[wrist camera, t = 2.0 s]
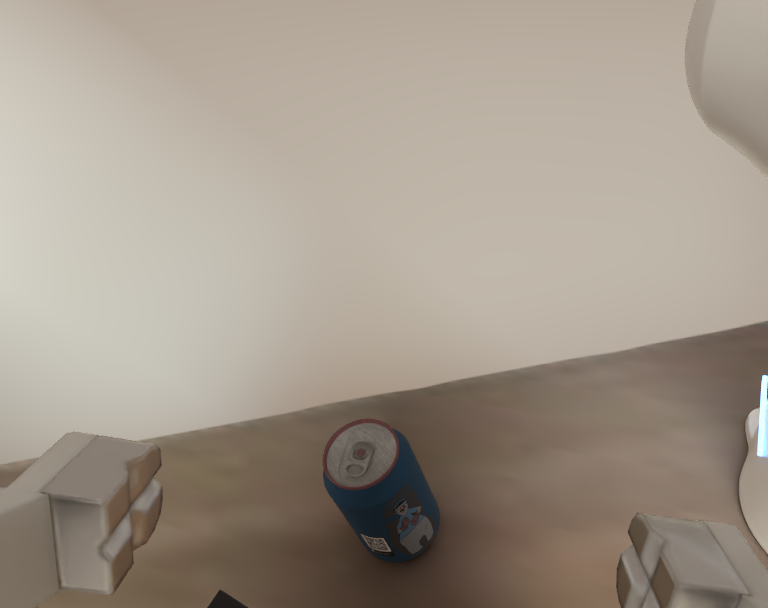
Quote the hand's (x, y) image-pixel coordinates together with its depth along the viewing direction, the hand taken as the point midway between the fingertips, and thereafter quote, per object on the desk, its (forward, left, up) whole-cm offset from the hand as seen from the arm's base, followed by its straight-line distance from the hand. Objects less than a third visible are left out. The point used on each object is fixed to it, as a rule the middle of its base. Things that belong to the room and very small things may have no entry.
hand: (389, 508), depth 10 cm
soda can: (+3, -21, -38) cm, 43 cm away
